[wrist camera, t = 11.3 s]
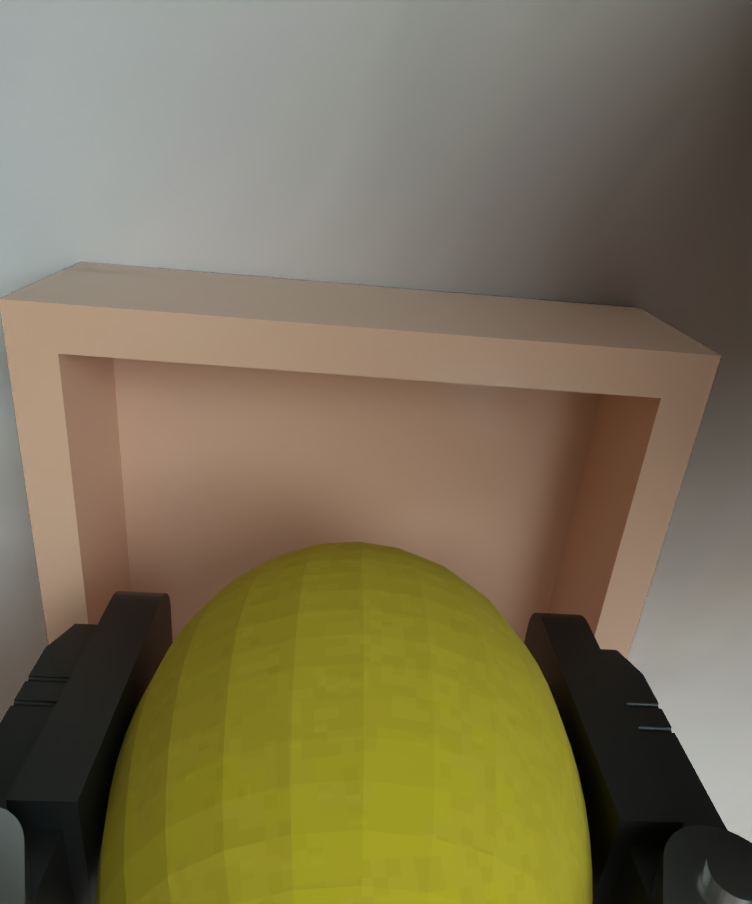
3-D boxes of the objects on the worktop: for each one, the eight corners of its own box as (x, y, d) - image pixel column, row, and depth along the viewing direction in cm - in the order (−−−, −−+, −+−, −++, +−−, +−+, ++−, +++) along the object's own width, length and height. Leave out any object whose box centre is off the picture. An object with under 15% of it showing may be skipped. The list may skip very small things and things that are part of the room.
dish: (120, 696, 16) (72, 812, 13) (80, 261, 12) (-2, 298, 9) (538, 714, 17) (574, 828, 14) (640, 307, 12) (721, 356, 10)
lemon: (345, 751, 14) (335, 1450, 6) (126, 588, 12) (-236, 1303, 5) (568, 596, 12) (886, 1273, 5) (357, 382, 10) (365, 955, 3)
